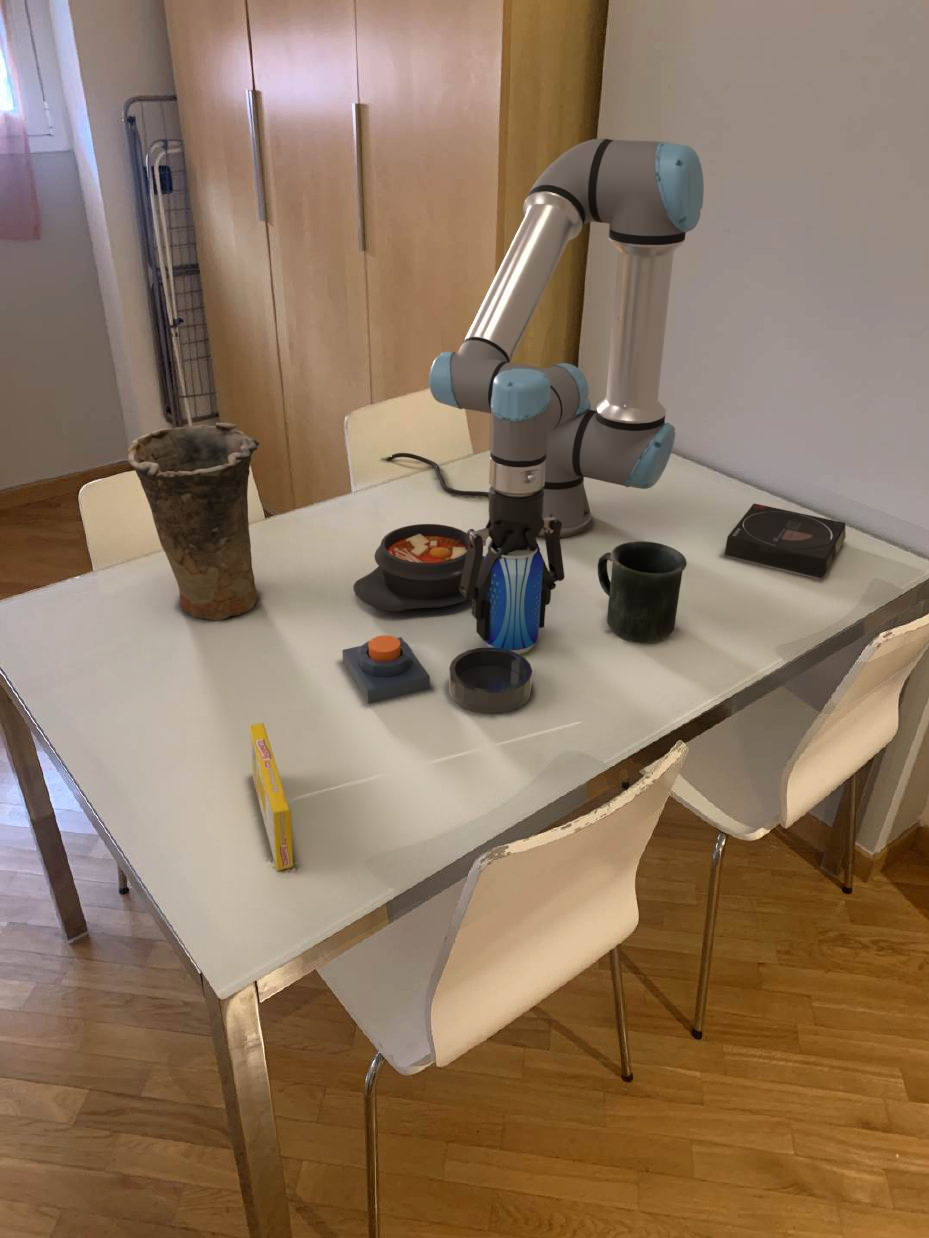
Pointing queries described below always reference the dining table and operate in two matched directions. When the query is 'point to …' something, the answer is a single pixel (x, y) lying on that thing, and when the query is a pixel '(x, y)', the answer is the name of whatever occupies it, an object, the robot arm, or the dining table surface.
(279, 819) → the candy box
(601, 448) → the robot arm
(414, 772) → the dining table surface
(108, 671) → the dining table surface
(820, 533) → the portable cd player
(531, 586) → the beer can
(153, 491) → the vase
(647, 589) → the mug
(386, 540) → the casserole
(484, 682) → the dock
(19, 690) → the dining table surface
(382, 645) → the button
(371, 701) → the button base
